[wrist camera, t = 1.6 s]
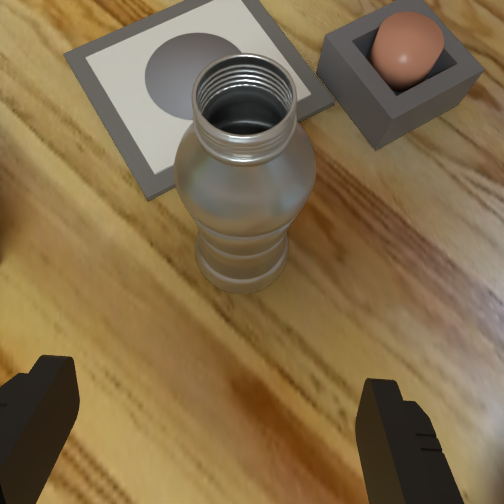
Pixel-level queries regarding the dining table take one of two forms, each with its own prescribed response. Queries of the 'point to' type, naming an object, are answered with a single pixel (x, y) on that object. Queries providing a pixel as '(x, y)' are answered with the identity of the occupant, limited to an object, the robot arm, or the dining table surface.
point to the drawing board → (177, 77)
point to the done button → (406, 49)
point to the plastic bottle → (244, 170)
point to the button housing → (374, 87)
